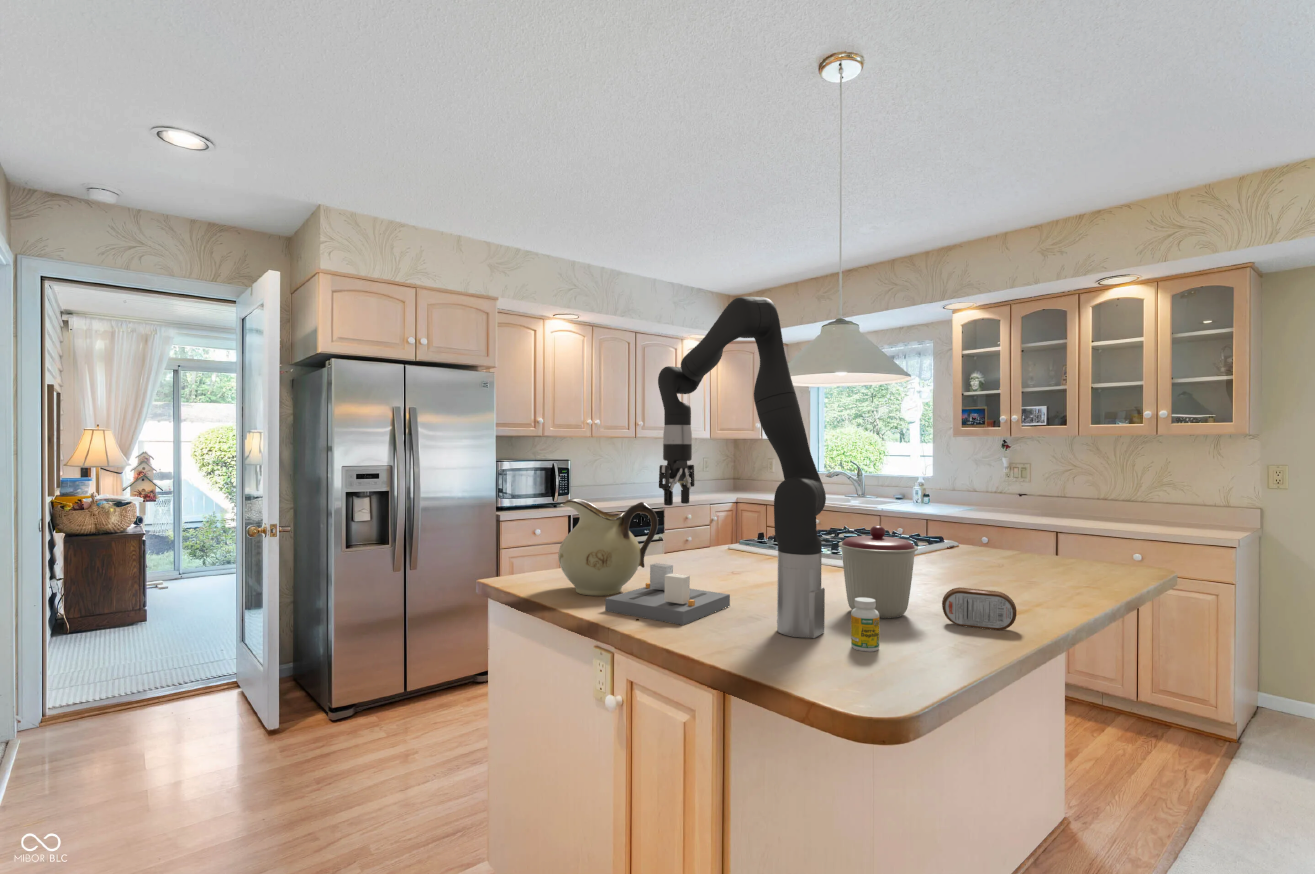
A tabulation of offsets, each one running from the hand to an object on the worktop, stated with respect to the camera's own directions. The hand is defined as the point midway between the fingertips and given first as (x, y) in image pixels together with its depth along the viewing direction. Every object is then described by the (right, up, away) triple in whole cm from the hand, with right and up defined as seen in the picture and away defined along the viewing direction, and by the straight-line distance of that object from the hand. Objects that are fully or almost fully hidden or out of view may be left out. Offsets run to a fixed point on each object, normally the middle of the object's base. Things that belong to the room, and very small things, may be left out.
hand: (677, 504), depth 173 cm
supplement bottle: (+36, -24, -43) cm, 61 cm away
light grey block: (-4, -21, -5) cm, 22 cm away
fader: (-1, -21, -19) cm, 28 cm away
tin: (+67, -25, -26) cm, 76 cm away
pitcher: (-21, -25, +8) cm, 33 cm away
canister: (+48, -25, -14) cm, 56 cm away
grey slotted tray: (-2, -24, -12) cm, 27 cm away
